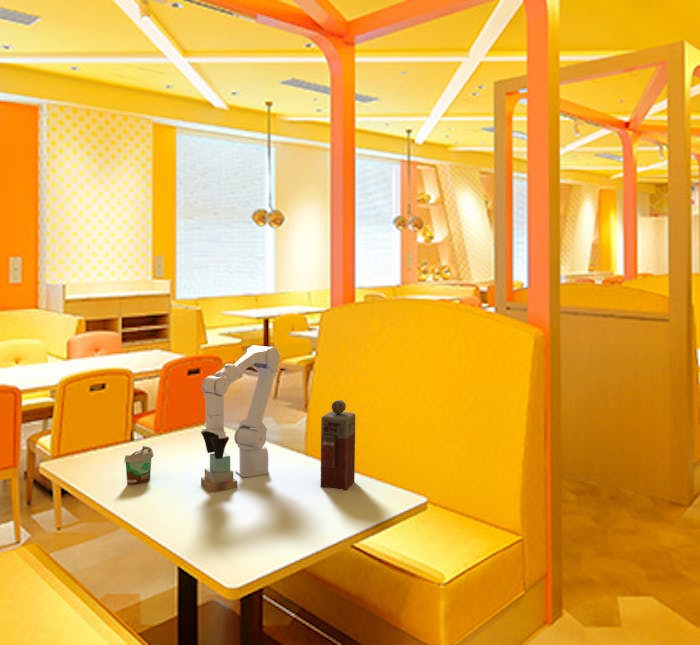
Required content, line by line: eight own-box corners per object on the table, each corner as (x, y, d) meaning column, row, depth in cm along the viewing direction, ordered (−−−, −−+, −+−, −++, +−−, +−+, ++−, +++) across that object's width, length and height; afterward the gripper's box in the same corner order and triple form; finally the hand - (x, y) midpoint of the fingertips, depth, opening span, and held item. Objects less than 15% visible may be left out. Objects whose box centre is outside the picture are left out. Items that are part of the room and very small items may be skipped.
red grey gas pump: (317, 489, 218) (318, 403, 215) (329, 478, 228) (330, 396, 226) (344, 492, 215) (345, 405, 212) (354, 481, 226) (355, 398, 223)
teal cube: (224, 466, 222) (224, 451, 222) (230, 470, 218) (230, 455, 218) (209, 469, 220) (209, 454, 219) (215, 473, 215) (215, 457, 215)
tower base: (227, 482, 225) (227, 473, 225) (237, 490, 218) (237, 481, 217) (201, 486, 221) (200, 477, 221) (210, 494, 213) (210, 485, 213)
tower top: (224, 474, 224) (224, 465, 224) (233, 480, 218) (233, 470, 218) (204, 477, 220) (204, 468, 220) (212, 483, 215) (212, 474, 214)
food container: (142, 487, 217) (141, 457, 216) (124, 486, 218) (124, 455, 217) (160, 475, 229) (160, 446, 228) (143, 474, 230) (143, 445, 229)
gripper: (195, 410, 220) (195, 451, 222) (210, 419, 208) (210, 463, 209) (216, 408, 224) (216, 448, 225) (231, 417, 211) (231, 459, 213)
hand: (214, 455), depth 217 cm, fingers open, 7 cm apart
